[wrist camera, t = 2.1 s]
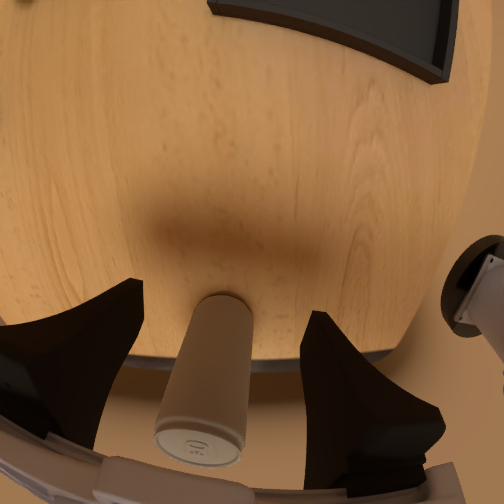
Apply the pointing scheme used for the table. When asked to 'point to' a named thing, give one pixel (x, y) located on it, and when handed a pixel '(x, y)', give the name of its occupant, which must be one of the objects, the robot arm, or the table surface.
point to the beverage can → (209, 387)
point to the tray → (367, 27)
